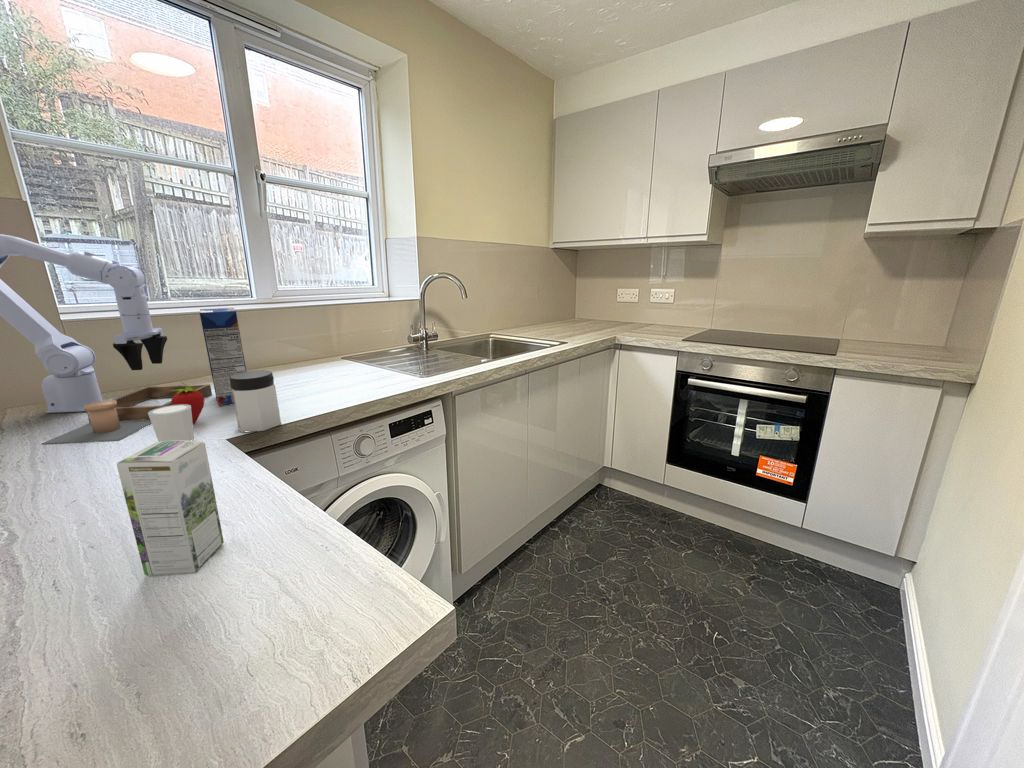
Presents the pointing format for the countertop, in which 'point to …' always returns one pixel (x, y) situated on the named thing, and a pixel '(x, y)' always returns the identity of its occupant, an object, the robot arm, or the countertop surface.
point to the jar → (255, 400)
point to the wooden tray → (145, 393)
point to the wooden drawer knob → (103, 416)
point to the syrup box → (171, 506)
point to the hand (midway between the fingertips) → (147, 366)
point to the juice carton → (223, 349)
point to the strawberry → (189, 400)
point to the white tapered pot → (172, 422)
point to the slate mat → (87, 433)
